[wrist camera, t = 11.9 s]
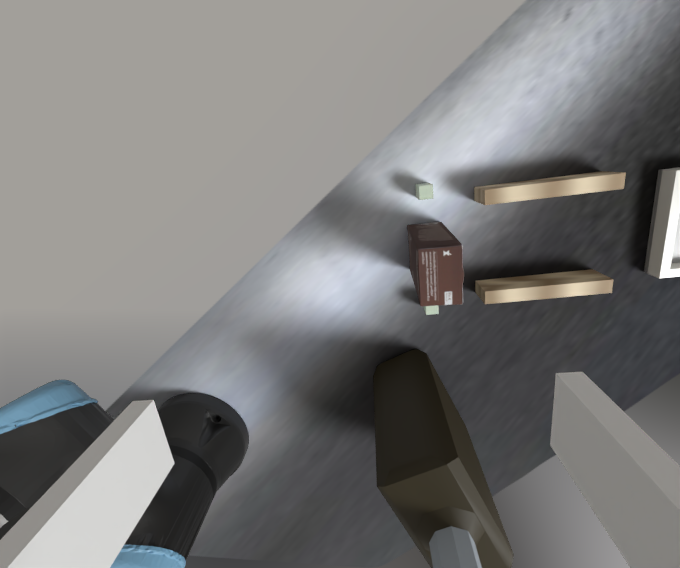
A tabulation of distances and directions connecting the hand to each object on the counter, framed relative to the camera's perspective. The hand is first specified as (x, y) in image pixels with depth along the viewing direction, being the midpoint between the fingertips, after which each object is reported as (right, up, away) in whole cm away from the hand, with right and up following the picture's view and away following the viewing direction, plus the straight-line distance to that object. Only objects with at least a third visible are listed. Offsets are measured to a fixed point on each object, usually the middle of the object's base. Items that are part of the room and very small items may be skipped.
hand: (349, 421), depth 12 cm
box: (+10, +9, +33) cm, 36 cm away
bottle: (+11, -12, +41) cm, 44 cm away
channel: (+23, +10, +32) cm, 41 cm away
